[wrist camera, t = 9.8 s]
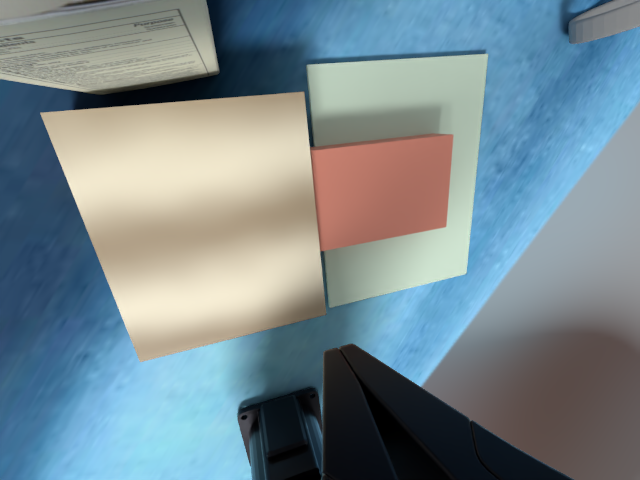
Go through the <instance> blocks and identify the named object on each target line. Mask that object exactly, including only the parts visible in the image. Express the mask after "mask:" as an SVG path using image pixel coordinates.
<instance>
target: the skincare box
mask: <svg viewBox="0 0 640 480" xmlns="http://www.w3.org/2000/svg"><path fill="white" fill-rule="evenodd" d="M217 74H219V66H218V61H217V55H216V50H215V45H214V39H213V34H212V29H211V23H210V18H209V13H208V7H207V2H206V0H0V79H5V80H10V81H17V82H23V83H29V84H36V85H42V86H48V87H55V88H61V89H68V90H74V91H80V92H87V93H93V94H99V95H103V94H110V93H117V92H124V91H130V90H136V89H143V88H149V87H155V86H160V85H166V84H172V83H177V82H182V81H188V80H193V79H198V78H203V77H208V76H213V75H217Z"/></svg>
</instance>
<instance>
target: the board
mask: <svg viewBox="0 0 640 480" xmlns="http://www.w3.org/2000/svg"><path fill="white" fill-rule="evenodd" d="M40 114H41V116H42V119H43V121H44V124H45V126H46V129H47V131H48V134H49V136H50V139H51V141H52V144H53V146H54V149H55V151H56V154H57V156H58V159H59V161H60V163H61V166H62V168H63V171H64V173H65V176H66V178H67V181H68V183H69V186H70V188H71V191H72V193H73V196H74V198H75V201H76V203H77V206H78V208H79V211H80V213H81V216H82V218H83V221H84V223H85V226H86V228H87V231H88V233H89V236H90V238H91V241H92V243H93V246H94V248H95V251H96V253H97V256H98V258H99V261H100V263H101V266H102V268H103V271H104V273H105V276H106V278H107V281H108V283H109V286H110V288H111V291H112V293H113V296H114V298H115V301H116V303H117V306H118V308H119V311H120V313H121V316H122V318H123V321H124V323H125V326H126V328H127V330H128V333H129V335H130V338H131V340H132V343H133V345H134V348H135V350H136V353H137V355H138V358H139V360H140V362H143V361H146V360H150V359H154V358H158V357H162V356H166V355H170V354H174V353H178V352H182V351H186V350H190V349H194V348H197V347H201V346H205V345H209V344H213V343H217V342H221V341H225V340H229V339H233V338H237V337H241V336H245V335H249V334H252V333H256V332H260V331H264V330H268V329H272V328H276V327H280V326H284V325H288V324H292V323H296V322H300V321H304V320H307V319H311V318H315V317H319V316H323V315H326V306H325V296H324V286H323V276H322V266H321V255H320V245H319V235H318V225H317V215H316V205H315V195H314V185H313V175H312V165H311V155H310V145H309V135H308V125H307V115H306V105H305V95H304V92H294V93H281V94H269V95H256V96H244V97H232V98H219V99H207V100H194V101H182V102H170V103H157V104H145V105H132V106H120V107H107V108H95V109H83V110H70V111H58V112H45V113H40Z"/></svg>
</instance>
